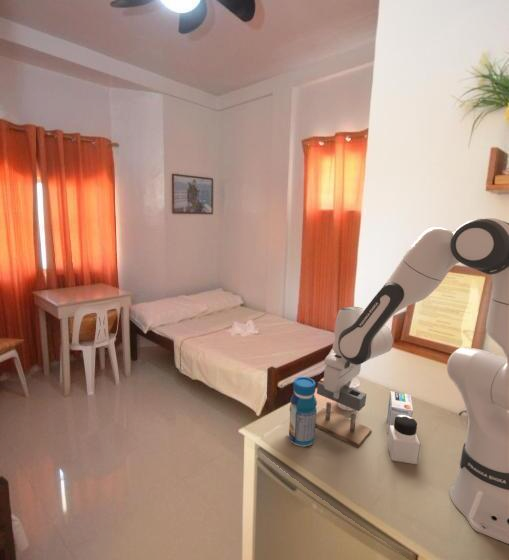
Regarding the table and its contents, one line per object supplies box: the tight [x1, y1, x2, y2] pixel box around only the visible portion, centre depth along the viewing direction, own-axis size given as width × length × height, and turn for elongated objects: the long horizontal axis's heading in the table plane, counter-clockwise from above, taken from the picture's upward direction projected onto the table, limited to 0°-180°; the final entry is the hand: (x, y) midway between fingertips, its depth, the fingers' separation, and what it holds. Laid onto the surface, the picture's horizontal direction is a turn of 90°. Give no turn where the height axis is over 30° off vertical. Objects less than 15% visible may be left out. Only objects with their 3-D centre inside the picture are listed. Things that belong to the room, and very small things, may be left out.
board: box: [315, 401, 372, 449], centre depth 111 cm, size 18×10×7 cm, turn 49°
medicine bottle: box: [387, 415, 421, 465], centre depth 99 cm, size 7×7×12 cm
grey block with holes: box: [316, 377, 367, 412], centre depth 110 cm, size 15×5×5 cm, turn 50°
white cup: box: [336, 377, 361, 412], centre depth 124 cm, size 8×8×10 cm
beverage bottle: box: [288, 376, 318, 447], centre depth 104 cm, size 8×8×20 cm
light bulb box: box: [386, 390, 414, 436], centre depth 111 cm, size 11×7×11 cm, turn 160°
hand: (341, 394), depth 110 cm, fingers closed on grey block with holes, 5 cm apart
